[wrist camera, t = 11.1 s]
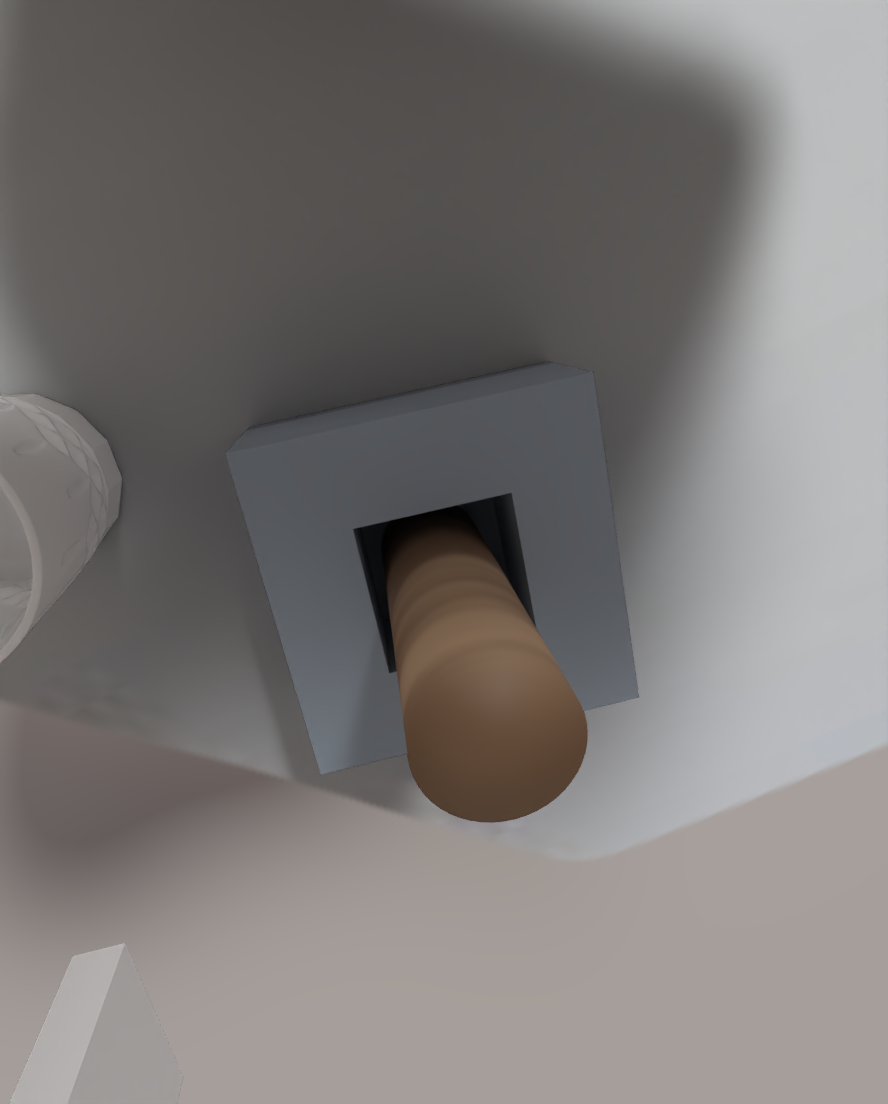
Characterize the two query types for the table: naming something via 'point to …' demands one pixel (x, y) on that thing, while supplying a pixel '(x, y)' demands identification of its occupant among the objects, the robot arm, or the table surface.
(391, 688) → the socket block
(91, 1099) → the robot arm
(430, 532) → the walnut dowel
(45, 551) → the white cup
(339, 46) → the table surface
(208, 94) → the table surface
